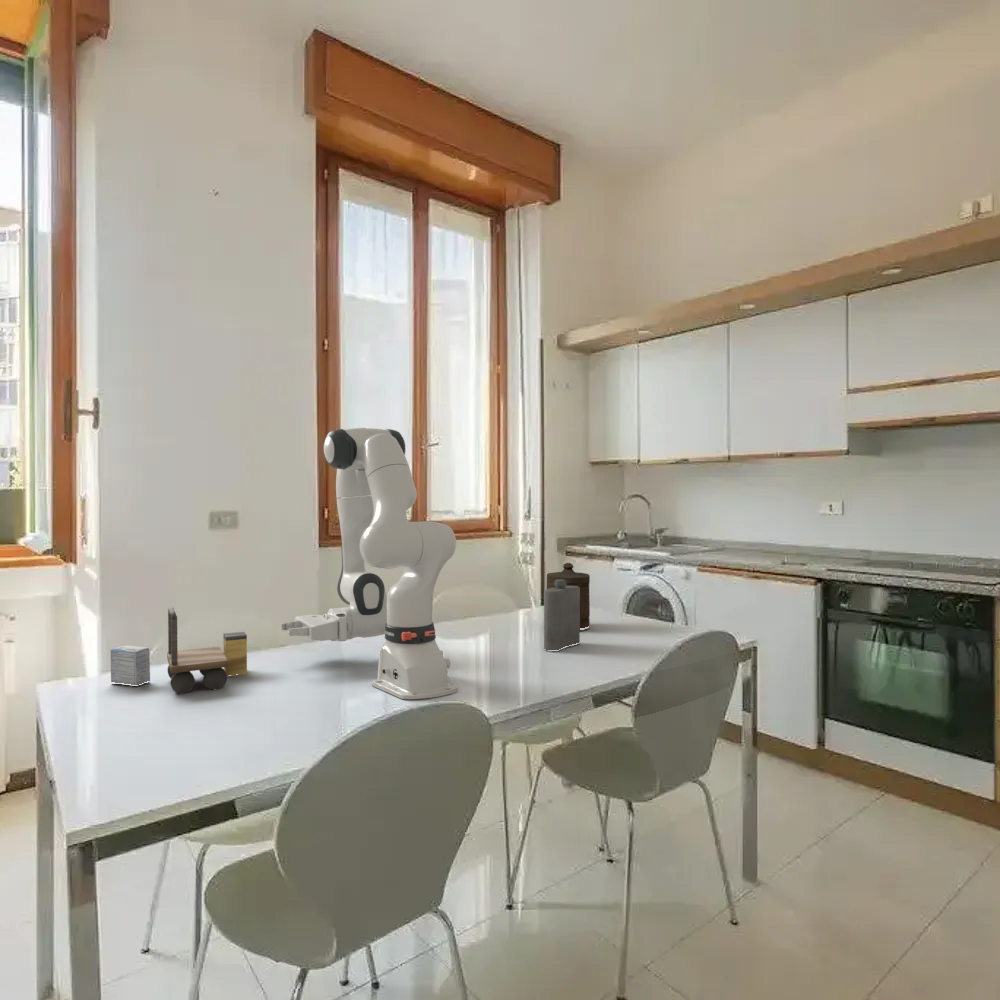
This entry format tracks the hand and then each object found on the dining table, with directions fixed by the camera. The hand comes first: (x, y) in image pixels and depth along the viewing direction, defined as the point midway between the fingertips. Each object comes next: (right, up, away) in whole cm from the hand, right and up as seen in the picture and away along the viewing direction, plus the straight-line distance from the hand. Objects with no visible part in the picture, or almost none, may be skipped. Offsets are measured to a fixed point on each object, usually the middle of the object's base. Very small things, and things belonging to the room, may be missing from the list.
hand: (284, 629), depth 182 cm
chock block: (-11, -10, -5) cm, 16 cm away
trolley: (-17, -10, -15) cm, 25 cm away
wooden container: (+79, -10, +53) cm, 96 cm away
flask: (+75, -10, +25) cm, 79 cm away
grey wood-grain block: (-33, -11, -15) cm, 37 cm away
